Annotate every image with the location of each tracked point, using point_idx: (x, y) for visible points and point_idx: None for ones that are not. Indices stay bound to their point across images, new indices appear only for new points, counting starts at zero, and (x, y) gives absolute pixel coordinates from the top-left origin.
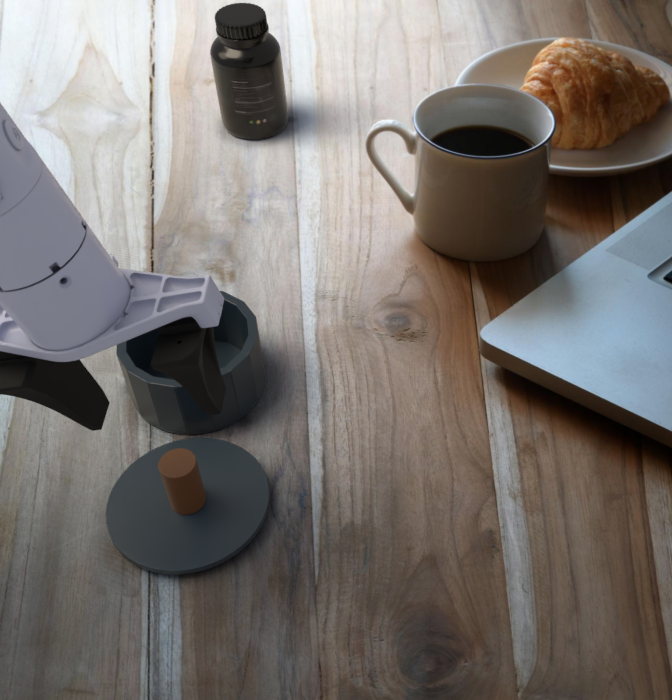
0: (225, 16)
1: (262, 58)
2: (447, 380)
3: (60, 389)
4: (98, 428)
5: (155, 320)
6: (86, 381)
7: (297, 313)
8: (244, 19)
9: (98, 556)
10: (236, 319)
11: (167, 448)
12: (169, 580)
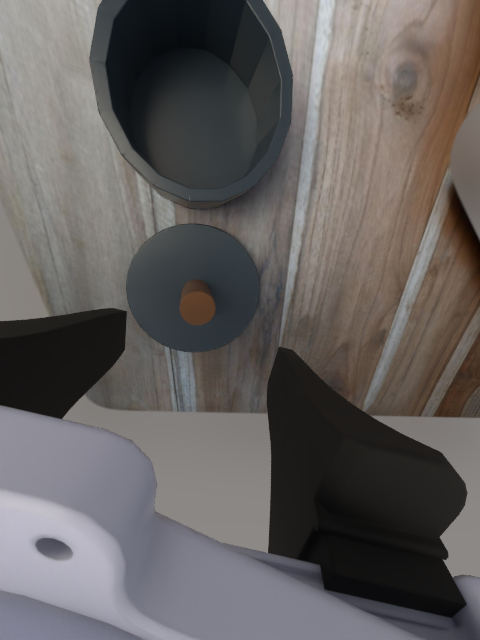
0: None
1: None
2: (414, 185)
3: (51, 411)
4: (121, 353)
5: None
6: (88, 336)
7: (311, 23)
8: None
9: (127, 323)
10: (257, 53)
11: (173, 233)
12: None
